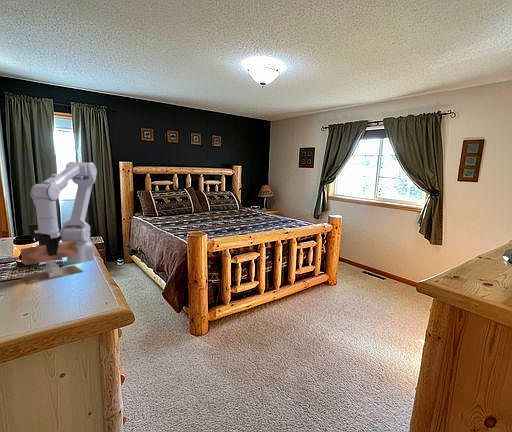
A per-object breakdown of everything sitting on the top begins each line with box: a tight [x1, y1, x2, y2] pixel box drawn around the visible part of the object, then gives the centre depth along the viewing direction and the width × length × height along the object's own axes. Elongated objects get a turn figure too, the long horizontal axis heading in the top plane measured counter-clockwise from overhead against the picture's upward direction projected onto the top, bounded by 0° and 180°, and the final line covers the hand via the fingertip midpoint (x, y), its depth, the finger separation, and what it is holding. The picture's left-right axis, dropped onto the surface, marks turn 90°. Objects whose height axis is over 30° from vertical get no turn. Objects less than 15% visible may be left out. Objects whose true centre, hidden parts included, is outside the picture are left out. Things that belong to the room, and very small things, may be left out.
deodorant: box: [27, 222, 42, 246], centre depth 127 cm, size 6×6×15 cm
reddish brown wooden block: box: [20, 240, 78, 266], centre depth 101 cm, size 16×4×5 cm, turn 146°
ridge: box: [42, 260, 64, 279], centre depth 102 cm, size 4×9×4 cm, turn 49°
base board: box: [20, 264, 84, 285], centre depth 102 cm, size 17×11×1 cm, turn 139°
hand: (51, 254), depth 101 cm, fingers closed on reddish brown wooden block, 4 cm apart
